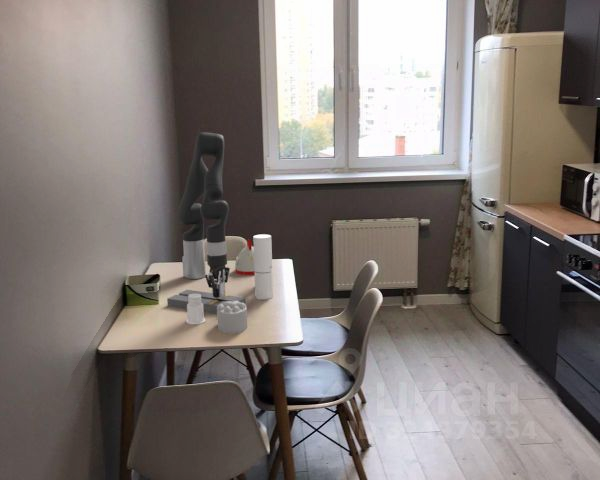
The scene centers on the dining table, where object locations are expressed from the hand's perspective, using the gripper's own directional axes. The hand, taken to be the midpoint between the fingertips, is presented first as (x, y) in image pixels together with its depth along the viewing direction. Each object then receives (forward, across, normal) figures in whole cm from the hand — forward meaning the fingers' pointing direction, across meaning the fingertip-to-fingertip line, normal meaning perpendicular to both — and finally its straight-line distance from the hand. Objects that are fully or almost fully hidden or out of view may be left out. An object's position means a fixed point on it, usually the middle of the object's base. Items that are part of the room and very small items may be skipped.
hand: (218, 295), depth 263 cm
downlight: (+5, +17, +1) cm, 18 cm away
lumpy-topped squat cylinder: (+5, +17, +17) cm, 24 cm away
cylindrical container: (+5, -19, +9) cm, 22 cm away
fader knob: (+5, 0, 0) cm, 5 cm away
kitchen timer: (+5, -51, -17) cm, 54 cm away
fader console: (+5, 0, -6) cm, 7 cm away
